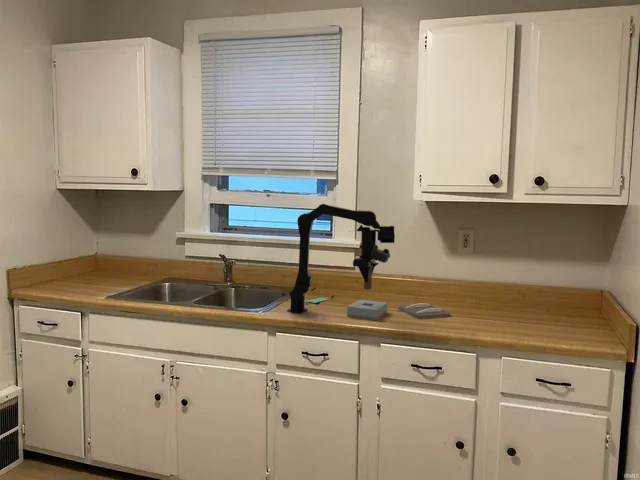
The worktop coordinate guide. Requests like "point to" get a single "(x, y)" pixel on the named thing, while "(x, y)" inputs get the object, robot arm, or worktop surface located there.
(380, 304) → the hole block
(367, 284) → the dowel
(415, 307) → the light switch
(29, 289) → the worktop surface
